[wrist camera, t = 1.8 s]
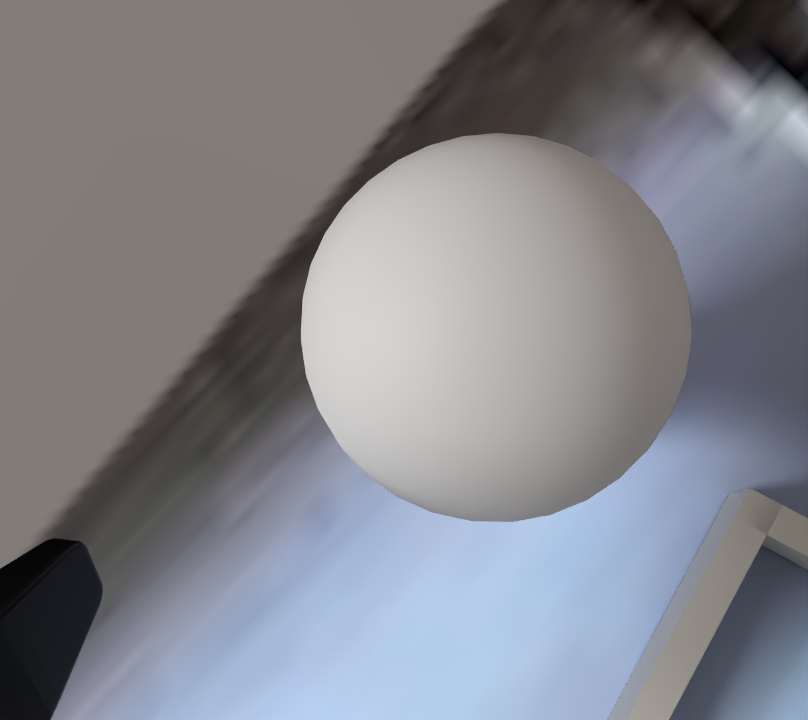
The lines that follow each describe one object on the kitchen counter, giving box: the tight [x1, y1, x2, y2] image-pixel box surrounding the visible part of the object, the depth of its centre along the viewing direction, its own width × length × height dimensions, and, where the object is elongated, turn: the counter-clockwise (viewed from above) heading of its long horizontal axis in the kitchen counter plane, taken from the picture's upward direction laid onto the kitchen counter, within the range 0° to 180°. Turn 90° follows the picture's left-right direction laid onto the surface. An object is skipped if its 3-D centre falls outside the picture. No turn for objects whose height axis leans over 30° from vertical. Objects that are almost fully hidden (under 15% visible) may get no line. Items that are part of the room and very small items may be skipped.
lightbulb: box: [301, 133, 692, 522], centre depth 15 cm, size 6×6×11 cm
